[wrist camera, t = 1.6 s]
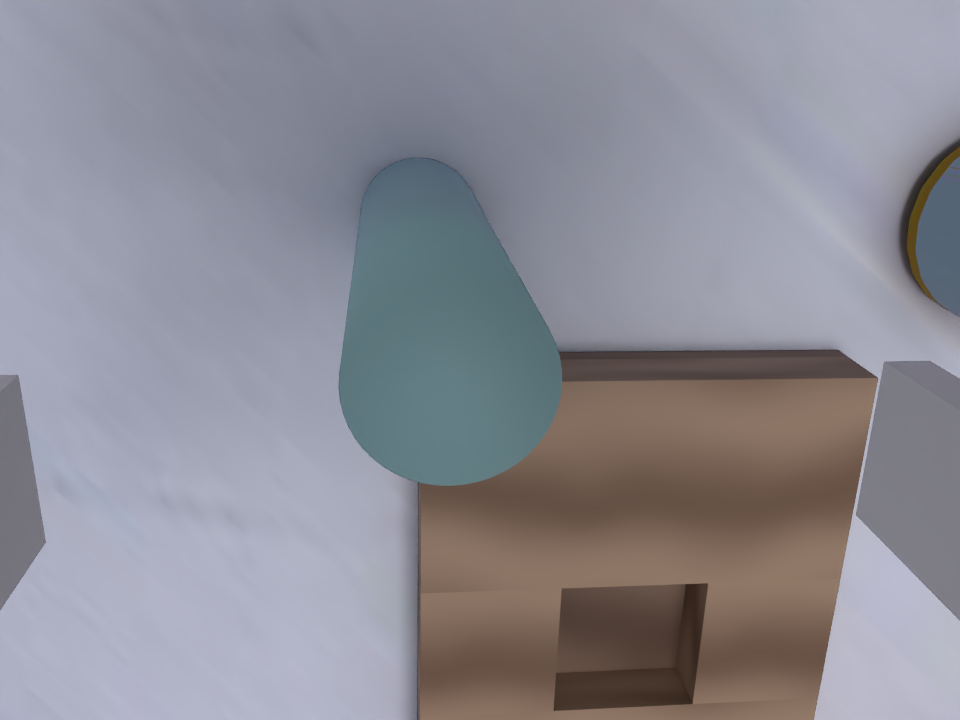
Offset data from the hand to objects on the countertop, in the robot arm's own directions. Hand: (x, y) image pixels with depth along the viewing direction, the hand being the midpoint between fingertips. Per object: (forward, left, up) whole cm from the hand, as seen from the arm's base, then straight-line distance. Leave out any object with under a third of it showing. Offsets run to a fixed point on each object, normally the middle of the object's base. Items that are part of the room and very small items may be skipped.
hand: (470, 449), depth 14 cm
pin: (0, 0, -18) cm, 18 cm away
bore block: (+16, +8, -18) cm, 26 cm away
